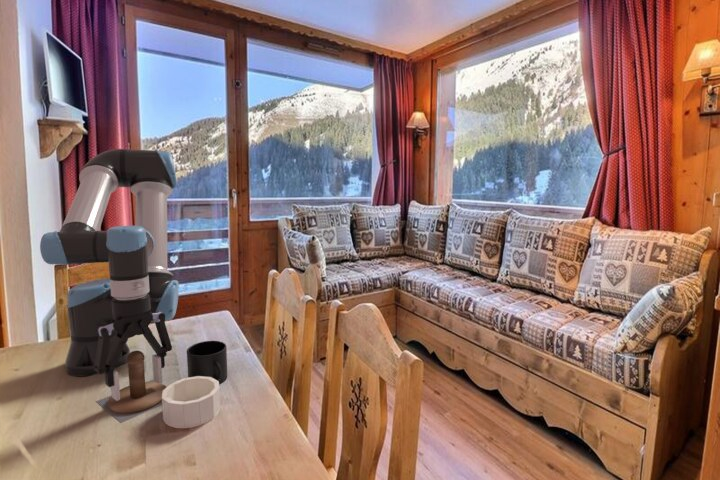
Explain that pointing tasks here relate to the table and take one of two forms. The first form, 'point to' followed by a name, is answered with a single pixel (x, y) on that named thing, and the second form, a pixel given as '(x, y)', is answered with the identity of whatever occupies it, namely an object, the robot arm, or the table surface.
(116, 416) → the mat
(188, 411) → the bowl
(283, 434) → the table surface
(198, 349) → the mug
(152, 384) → the lid
